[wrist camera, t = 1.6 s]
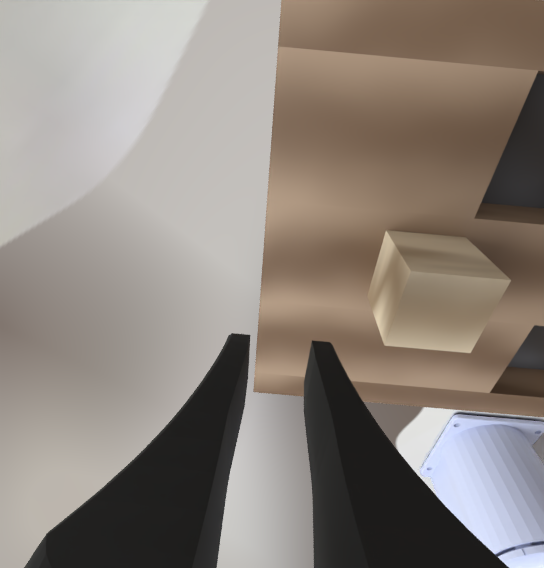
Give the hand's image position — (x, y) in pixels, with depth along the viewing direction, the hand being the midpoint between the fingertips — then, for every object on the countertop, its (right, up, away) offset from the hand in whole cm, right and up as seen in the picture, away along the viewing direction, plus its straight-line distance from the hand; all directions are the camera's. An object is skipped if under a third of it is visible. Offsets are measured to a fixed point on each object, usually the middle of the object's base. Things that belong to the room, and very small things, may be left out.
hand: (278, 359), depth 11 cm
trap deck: (+13, +5, +9) cm, 17 cm away
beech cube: (+7, +3, +6) cm, 10 cm away
